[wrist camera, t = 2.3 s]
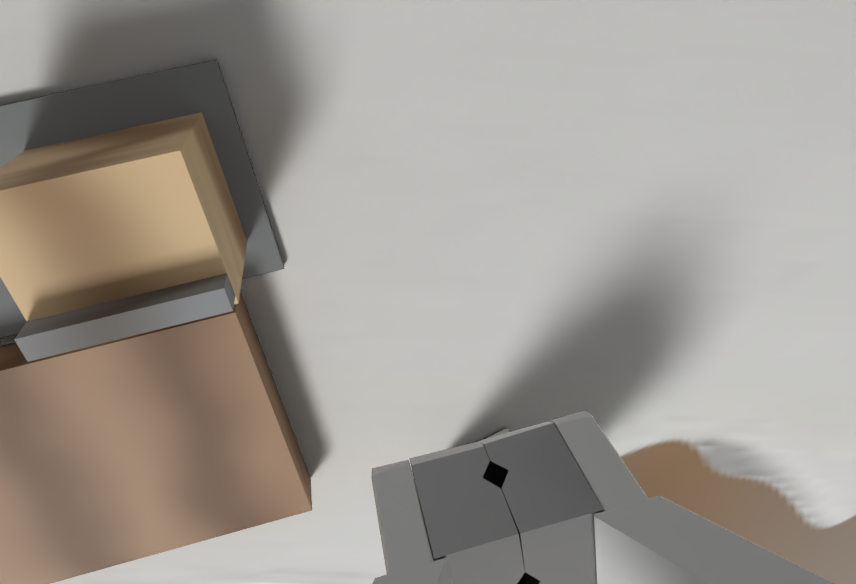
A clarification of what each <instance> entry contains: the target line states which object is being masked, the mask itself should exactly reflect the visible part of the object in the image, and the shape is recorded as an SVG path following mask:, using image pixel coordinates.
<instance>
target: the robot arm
mask: <svg viewBox="0 0 856 584" xmlns="http://www.w3.org/2000/svg"><path fill="white" fill-rule="evenodd" d="M410 464H411V467H410ZM411 468H412V470H411ZM412 472H413V474H412ZM413 477H414V478H413ZM414 481H415V482H414ZM372 484H373V490H374V497H375V503H376V509H377V515H378V522H379V528H380V534H381V540H382V547H383V553H384V559H385V565H386V572H387V575H384V576H381V577H377V578H375V580H374V582H373V584H834V583H832V582H830V581H828V580H826V579H824V578H822V577H820V576H818V575H816V574H814V573H812V572H810V571H808V570H806V569H805V568H803V567H800V566H799V565H797V564H795V563H793V562H791V561H789V560H787V559H785V558H783V557H780V556H778V555H777V554H775V553H773V552H771V551H769V550H767V549H765V548H762V547H761V546H759V545H757V544H755V543H753V542H751V541H749V540H747V539H745V538H743V537H741V536H739V535H737V534H735V533H733V532H731V531H729V530H727V529H725V528H723V527H721V526H719V525H717V524H715V523H713V522H711V521H709V520H707V519H705V518H703V517H701V516H699V515H697V514H695V513H693V512H691V511H689V510H687V509H685V508H683V507H681V506H679V505H677V504H675V503H673V502H671V501H669V500H667V499H665V498H663V497H661V496H657V497H653V498H649V499H648V497H647V496H646V494H645V493H644V491H643V490H642V488H641V487H640V485H639V484H638V482H637V481H636V479H635V478H634V476H633V475H632V473H631V472H630V471H629V469H628V468H627V466H626V465H625V463H624V462H623V460H622V459H621V457H620V456H619V454H618V453H617V451H616V450H615V448H614V447H613V445H612V444H611V443H610V441H609V440H608V438H607V437H606V435H605V434H604V432H603V431H602V429H601V428H600V426H599V425H598V423H597V422H596V420H595V419H594V417H593V416H592V415H591V414H590V413H588V412H587V411H581V412H578V413H574V414H571V415H567V416H564V417H560V418H557V419H553V420H551V421H550V422H548V421H547V422H543V423H540V424H536V425H533V426H529V427H526V428H522V429H519V430H515V431H512V432H508V433H505V434H501V435H498V436H494V437H491V438H487V439H484V440H480V441H478V442H474V443H470V444H466V445H462V446H458V447H454V448H450V449H446V450H442V451H438V452H434V453H430V454H426V455H422V456H418V457H414V458H410V463H409V460H406V461H401V462H397V463H393V464H389V465H385V466H381V467H376V468H372ZM415 485H416V486H415Z"/></svg>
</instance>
